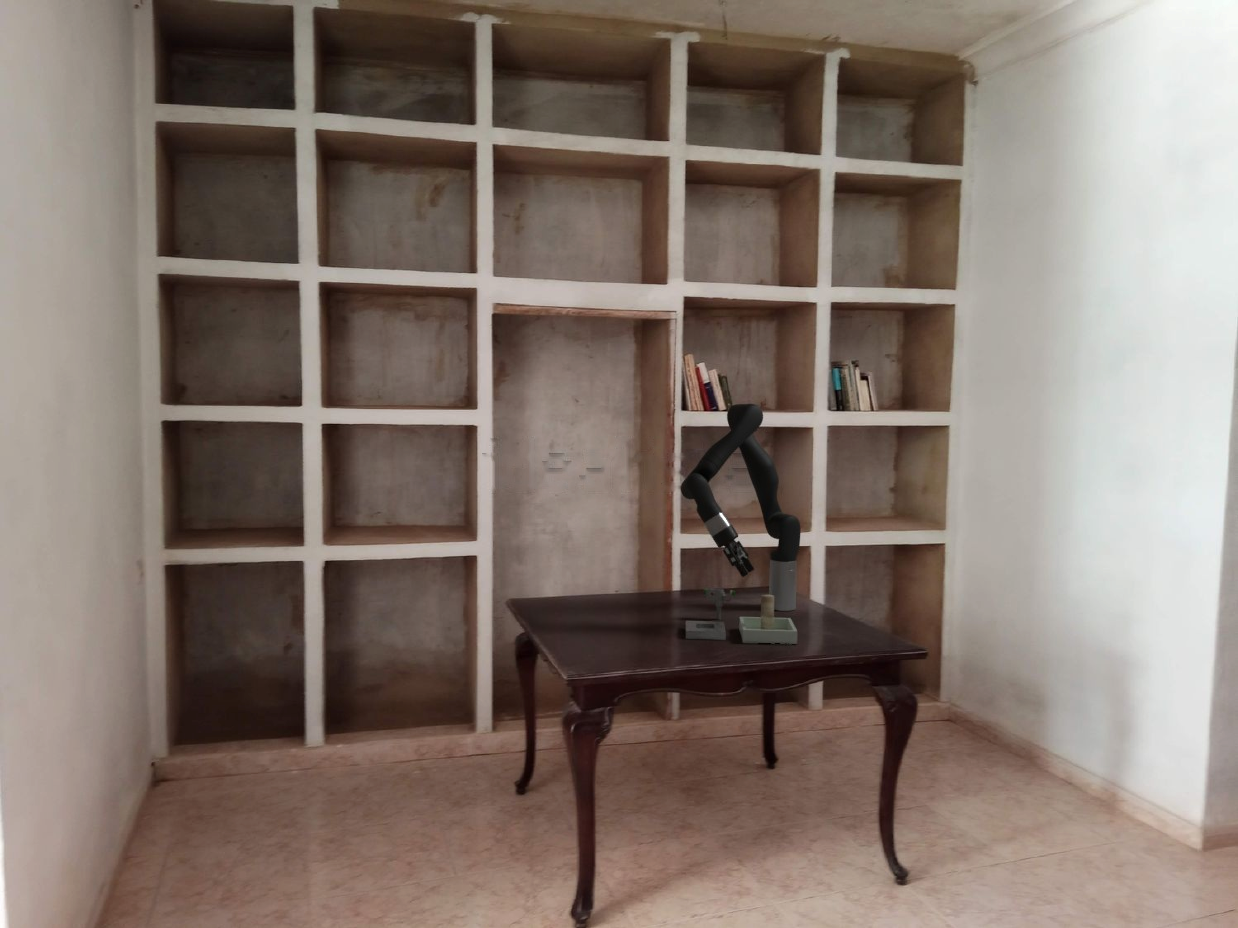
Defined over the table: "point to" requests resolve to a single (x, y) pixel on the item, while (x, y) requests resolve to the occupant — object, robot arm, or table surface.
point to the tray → (767, 631)
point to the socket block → (705, 630)
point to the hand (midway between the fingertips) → (748, 573)
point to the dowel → (767, 612)
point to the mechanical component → (718, 598)
